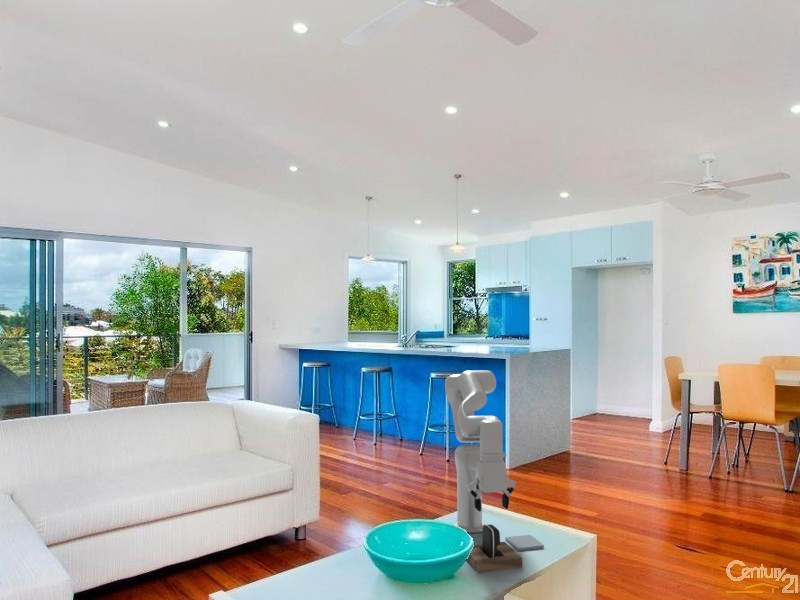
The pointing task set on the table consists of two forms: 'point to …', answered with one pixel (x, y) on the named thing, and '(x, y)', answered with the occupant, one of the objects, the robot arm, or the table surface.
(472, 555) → the holder
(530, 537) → the tile
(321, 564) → the table surface
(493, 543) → the battery charger
